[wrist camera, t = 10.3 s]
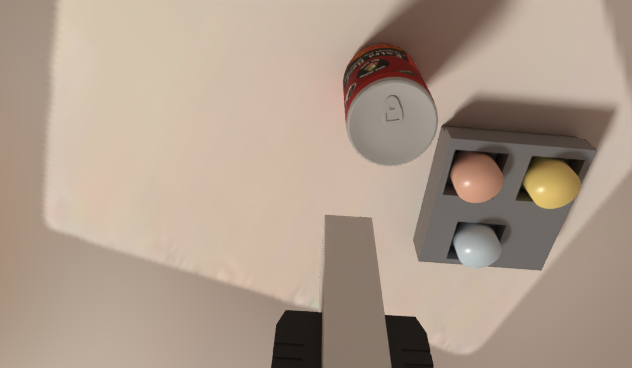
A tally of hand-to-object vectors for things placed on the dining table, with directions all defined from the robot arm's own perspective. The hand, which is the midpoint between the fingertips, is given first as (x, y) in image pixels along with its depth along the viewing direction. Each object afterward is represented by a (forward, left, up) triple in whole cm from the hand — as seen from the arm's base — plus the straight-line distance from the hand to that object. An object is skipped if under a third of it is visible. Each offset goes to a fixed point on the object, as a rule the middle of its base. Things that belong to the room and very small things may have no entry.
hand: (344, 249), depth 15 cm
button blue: (+23, +19, -32) cm, 44 cm away
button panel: (+18, +20, -34) cm, 44 cm away
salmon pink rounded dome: (+14, +16, -32) cm, 39 cm away
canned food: (+6, +5, -34) cm, 35 cm away
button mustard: (+14, +24, -32) cm, 43 cm away
